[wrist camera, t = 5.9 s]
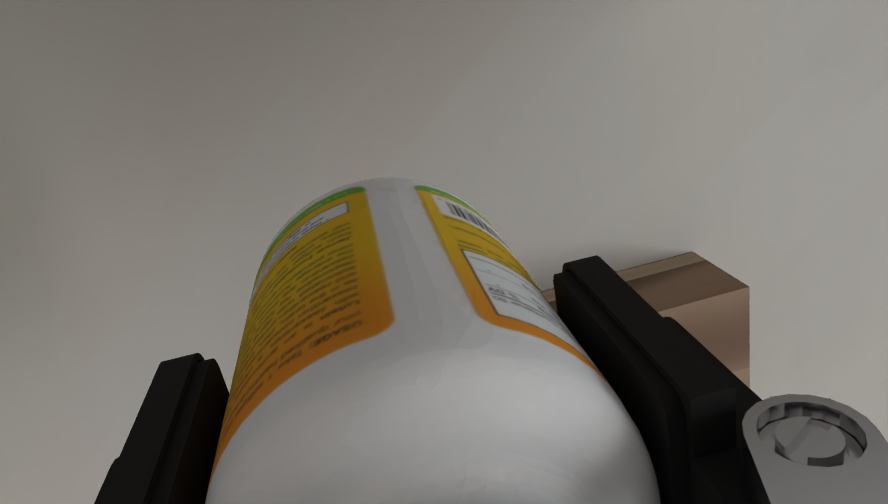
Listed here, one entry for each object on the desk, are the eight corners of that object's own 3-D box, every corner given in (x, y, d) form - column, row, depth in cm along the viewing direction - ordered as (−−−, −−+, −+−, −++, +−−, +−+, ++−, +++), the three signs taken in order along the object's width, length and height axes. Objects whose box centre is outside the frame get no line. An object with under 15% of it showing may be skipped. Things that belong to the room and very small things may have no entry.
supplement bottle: (263, 411, 14) (167, 1098, 5) (245, 173, 12) (48, 638, 3) (500, 395, 15) (751, 960, 6) (519, 171, 13) (919, 533, 4)
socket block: (392, 331, 28) (406, 381, 24) (693, 252, 29) (749, 286, 26) (450, 568, 33) (469, 638, 29) (702, 489, 35) (749, 546, 31)
